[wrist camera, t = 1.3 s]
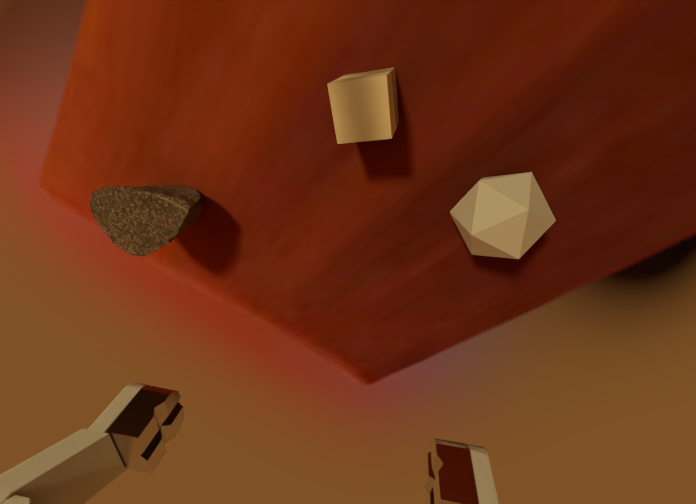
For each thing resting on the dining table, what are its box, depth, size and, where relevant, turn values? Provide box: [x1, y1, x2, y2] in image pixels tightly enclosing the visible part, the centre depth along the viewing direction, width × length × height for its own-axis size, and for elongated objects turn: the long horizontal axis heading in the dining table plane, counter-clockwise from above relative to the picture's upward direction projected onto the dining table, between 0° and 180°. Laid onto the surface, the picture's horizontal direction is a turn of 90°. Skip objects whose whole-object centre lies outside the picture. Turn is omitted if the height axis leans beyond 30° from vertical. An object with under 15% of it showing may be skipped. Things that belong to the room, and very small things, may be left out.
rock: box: [90, 185, 202, 256], centre depth 42 cm, size 12×10×10 cm
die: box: [450, 172, 556, 259], centre depth 33 cm, size 8×9×10 cm
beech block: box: [327, 68, 399, 144], centre depth 31 cm, size 5×5×6 cm
